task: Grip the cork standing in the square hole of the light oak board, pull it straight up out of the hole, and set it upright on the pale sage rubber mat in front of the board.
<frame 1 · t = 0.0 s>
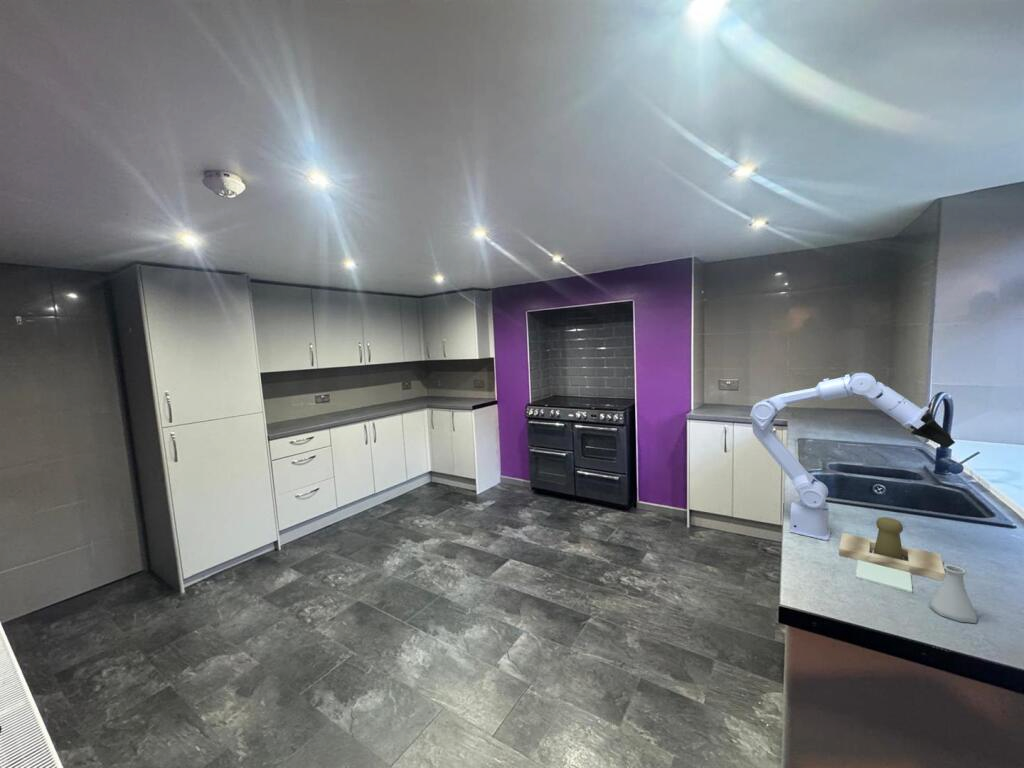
hand: (949, 442, 103), 32 cm above the counter, tool tilted 50°, fingers open, 7 cm apart
cork: (888, 559, 108), resting in socket board
rubber mat: (883, 576, 100), on the counter
socket board: (888, 558, 108), on the counter
flask: (952, 613, 86), on the counter
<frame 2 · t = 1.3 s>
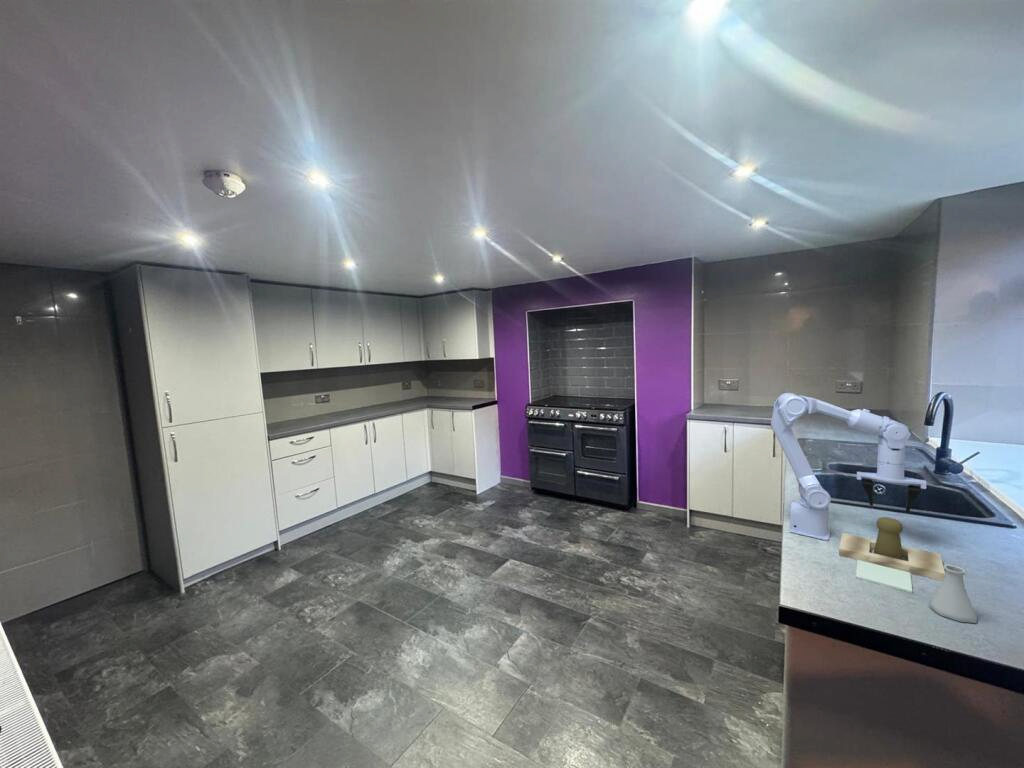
hand: (889, 507, 116), 10 cm above the counter, tool pointing down, fingers open, 7 cm apart
nothing on the counter moved.
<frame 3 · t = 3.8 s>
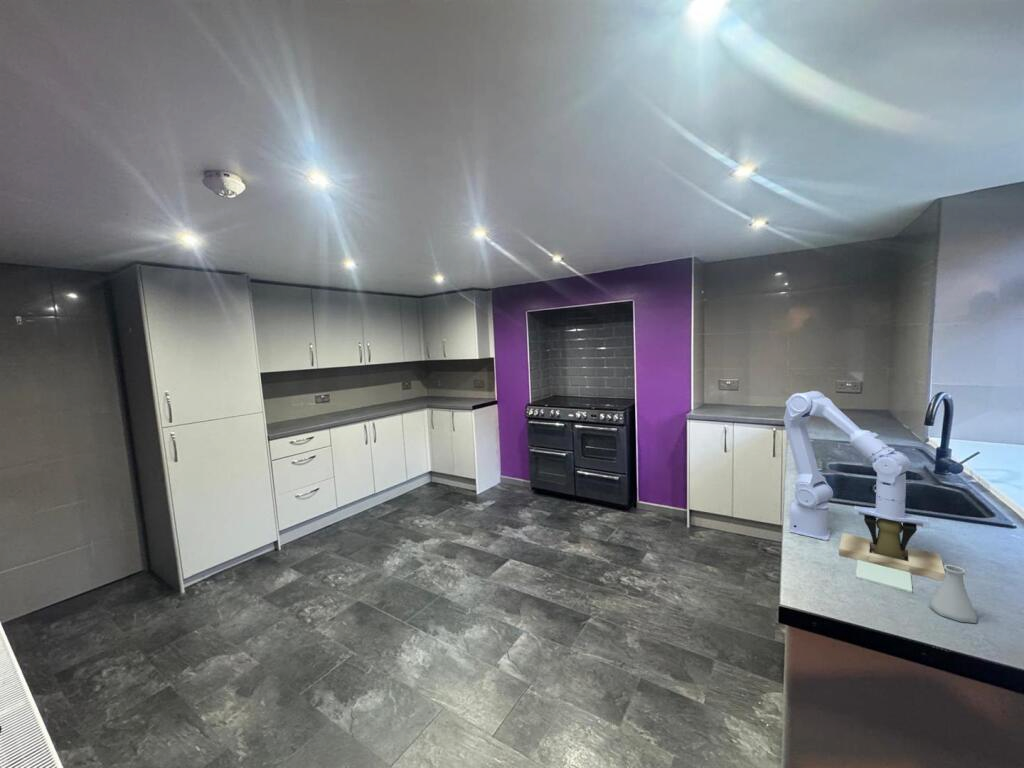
hand: (888, 546, 108), 3 cm above the counter, tool pointing down, fingers closed on cork, 5 cm apart
cork: (888, 559, 108), resting in socket board, touching gripper
everything else where it was.
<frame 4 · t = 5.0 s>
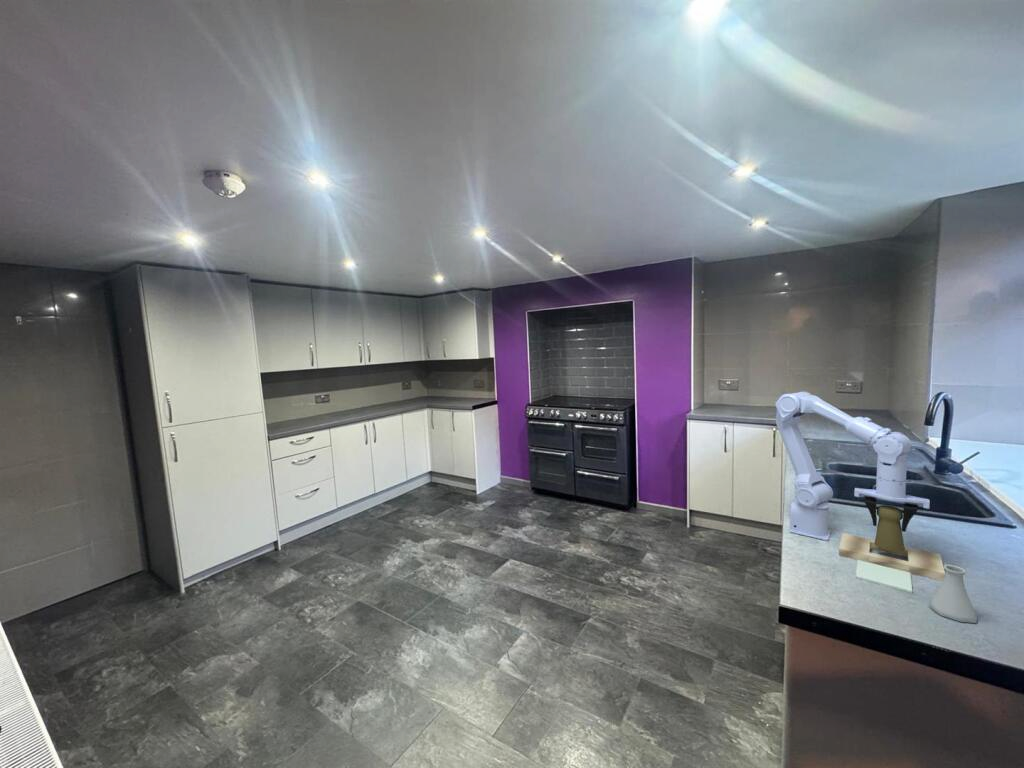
hand: (889, 527, 107), 9 cm above the counter, tool pointing down, fingers closed on cork, 5 cm apart
cork: (889, 547, 108), point 3 cm above the counter, touching gripper
everything else where it was.
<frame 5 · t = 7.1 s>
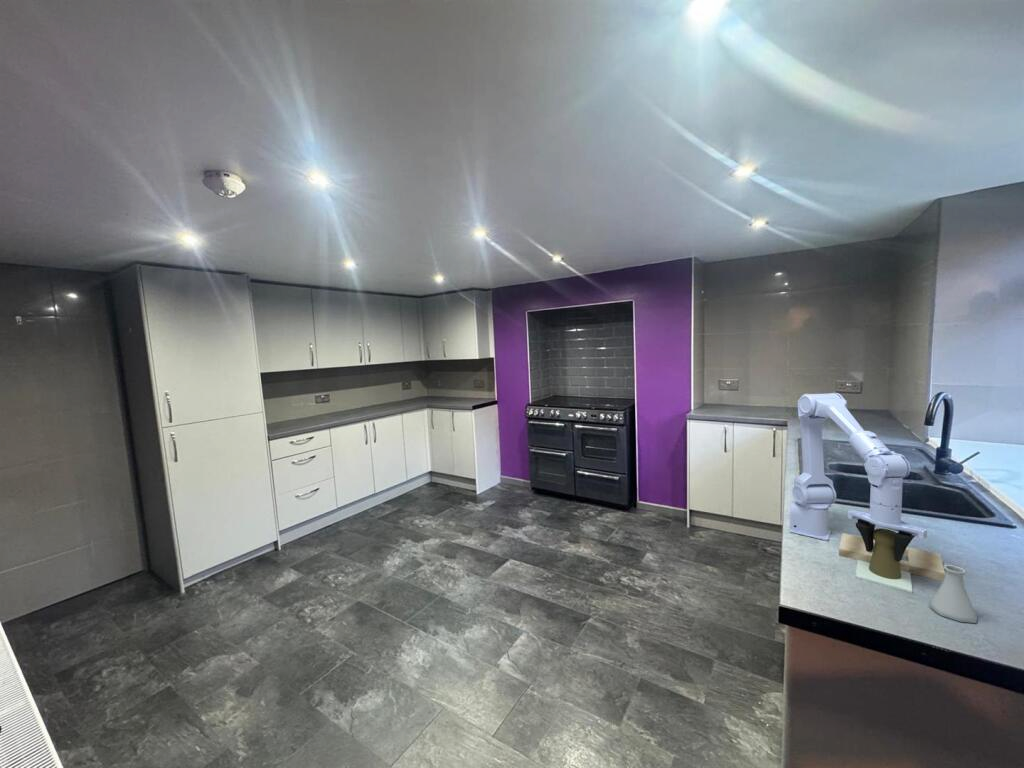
hand: (883, 555, 100), 5 cm above the counter, tool pointing down, fingers closed on cork, 5 cm apart
cork: (884, 573, 101), resting on rubber mat, touching gripper
everything else where it was.
when the fingers open (5 cm above the counter, at t = 7.6 s): cork stays where it is, resting on rubber mat.
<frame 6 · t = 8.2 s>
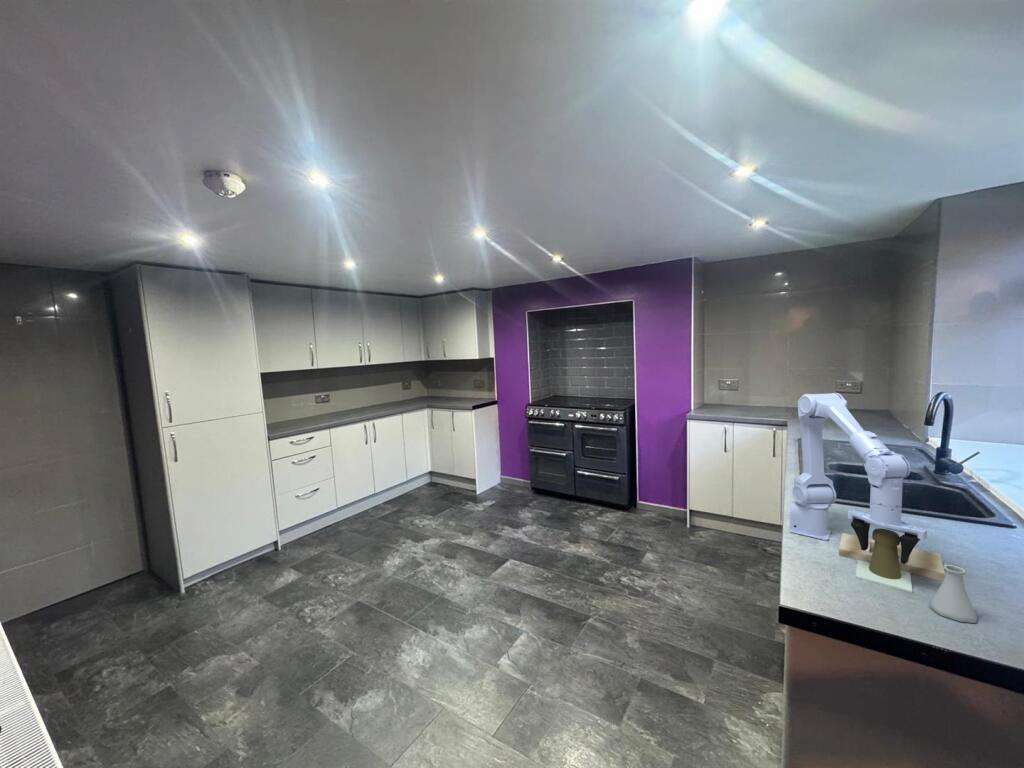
hand: (883, 555, 100), 5 cm above the counter, tool pointing down, fingers open, 7 cm apart
cork: (884, 573, 101), resting on rubber mat
everything else where it was.
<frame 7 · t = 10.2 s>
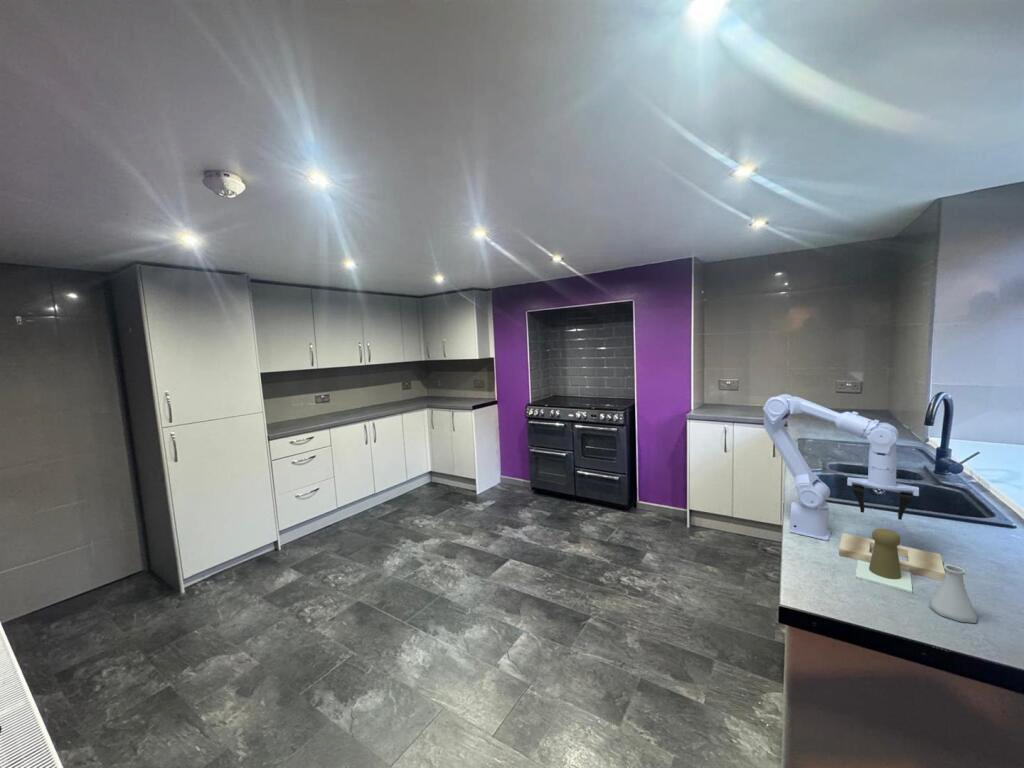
hand: (880, 514, 112), 10 cm above the counter, tool pointing down, fingers open, 7 cm apart
nothing on the counter moved.
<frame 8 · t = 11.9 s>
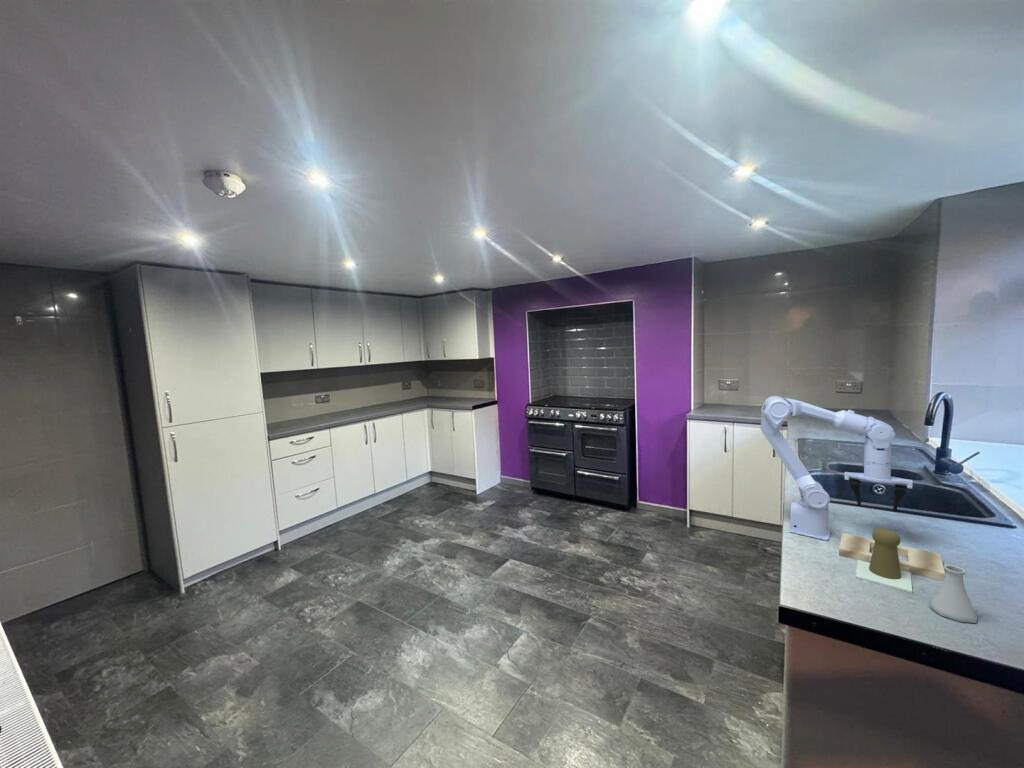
hand: (876, 507, 116), 10 cm above the counter, tool pointing down, fingers open, 7 cm apart
nothing on the counter moved.
at the end: cork 1.3 cm off-centre on the rubber mat, point 0.3 cm above the rubber mat's base; cork tilted 0°; the gripper is holding nothing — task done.
